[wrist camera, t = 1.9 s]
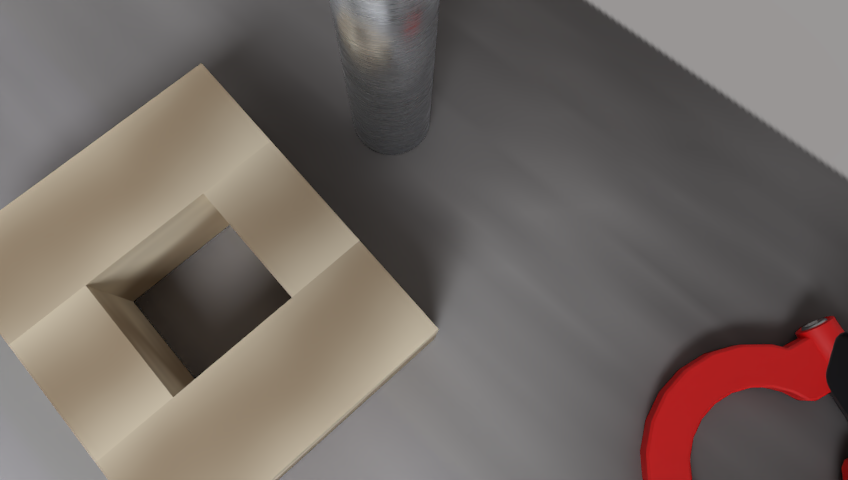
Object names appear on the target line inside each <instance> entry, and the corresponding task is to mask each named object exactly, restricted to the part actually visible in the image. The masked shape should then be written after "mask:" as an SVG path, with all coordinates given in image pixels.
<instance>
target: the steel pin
mask: <svg viewBox="0 0 848 480" xmlns="http://www.w3.org/2000/svg"><path fill="white" fill-rule="evenodd" d="M439 3H440V0H330V5H331V11H332V16H333V21H334V26H335V31H336V36H337V41H338V47H339V52H340V57H341V62H342V67H343V72H344V78H345V83H346V88H347V93H348V98H349V103H350V108H351V114H352V119H353V124H354V128H355V131H356V134H357V136H358V137H359V139H360V140H361V141H362V143H363V144H365V145H366V146H367V147H368V148H370V149H371V150H373V151H375V152H378V153H381V154H386V155H396V154H402V153H405V152H408V151H410V150H412V149H413V148H415V147H416V146H417V145H418V144H419V143H420V142H421V141H422V140H423V139H424V137H425V135H426V133H427V131H428V128H429V121H430V109H431V98H432V86H433V74H434V62H435V50H436V38H437V26H438V15H439Z"/></svg>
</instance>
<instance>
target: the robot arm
mask: <svg viewBox="0 0 848 480" xmlns="http://www.w3.org/2000/svg"><path fill="white" fill-rule="evenodd" d="M826 381H827V384H828V386H829V389H830V391H831V392H832V394H833V395H834V397H835V398H836V400H837V401H838V403H839V404H840V406H841V407H842V409H843V410H844V412H845V413H846V415H847V416H848V331H846V332H843V333H840V334H839V335H838V336H837V337H836V339H835V341H834V345H833V349H832V352H831V356H830V359H829V363H828V366H827V370H826Z"/></svg>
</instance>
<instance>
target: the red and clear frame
mask: <svg viewBox="0 0 848 480" xmlns="http://www.w3.org/2000/svg"><path fill="white" fill-rule="evenodd" d="M843 332H844V330H843V329H842V327H841V326H840V325H839V323H838V322H837V320H836V319H835V317H834V316H828V317H823V318H820V319H817V320H814V321H812V322H810V323H808V324H806V325H804V326H803V327H801V328H800V329H799V330H798V331H796V333H795V334H796V336H797V337H798V338H797V339H795V340H794V341H792V342H790V343H788V344H787V345H785V346H783V347H781V346H777V345H773V344H748V345H733V346H729V347H726V348H722V349H719V350H715V351H712V352H708V353H705V354H703V355H701V356H700V357H698V358H696V359H695V360H693V361H692V362H690V363H688V364H687V365H685V366H684V367H682V368H680V369H679V370H678V371H677V372H676V373H675V374H674V376H673V377H672V378H671V379H670V380H669V381H668V382H667V383H666V385H665V386H664V387H663V388H662V389H661V390H660V391H659V393H658V395H657V397H656V399H655V401H654V403H653V406H652V408H651V410H650V412H649V414H648V416H647V418H646V421H645V427H644V433H643V438H642V444H641V450H640V455H641V467H642V478H643V480H692V475H691V465H690V455H691V449H692V443H693V437H694V435H695V433H696V431H697V429H698V426H699V424H700V422H701V420H702V418H703V417H704V416H705V415H706V414H707V413H708V411H709V410H710V409H711V408H712V407H713V406H714V404H716V403H717V402H719V401H720V400H722V399H723V398H725V397H726V396H728V395H730V394H731V393H734V392H737V391H741V390H744V389H748V388H752V387H764V388H768V389H772V390H776V391H780V392H783V393H785V394H787V395H789V396H791V397H793V398H794V399H796V400H804V401H816V400H818V399H820V398H821V397H823V396H825V395H827V394H828V393H830V394H831V396H832V397H833V399H834V400H835V402H836V403H837V405H838V406H839V408H840V409H841V411H842V412H843V414H844V415H845V417H846V418H847V420H848V416H847V415H846V413H845V412H844V410H843V409H842V407H841V406H840V404H839V403H838V401H837V400H836V398H835V397H834V395H833V394H832V392H831V391H830V389H829V386H828V384H827V381H826V370H827V366H828V363H829V359H830V356H831V352H832V349H833V345H834V341H835V339H836V337H837V336H838V335H839V334H840V333H843ZM841 469H842V475H843V480H848V458H847V459H845V460H844V462H843V465H842V468H841Z"/></svg>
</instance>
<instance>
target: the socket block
mask: <svg viewBox="0 0 848 480" xmlns="http://www.w3.org/2000/svg"><path fill="white" fill-rule="evenodd" d="M229 225H231V227H232V228H233V229H234V230H235V231H236V233H237V234H238V235H239V236H240V237H241V238H242V240H243V241H244V242H245V243H246V244H247V245H248V247H249V248H250V249H251V250H252V251H253V253H254V254H255V255H256V256H257V257H258V258H259V260H260V261H261V262H262V263H263V264H264V265H265V267H266V268H267V269H268V270H269V271H270V272H271V274H272V275H273V276H274V277H275V278H276V280H277V281H278V282H279V283H280V284H281V285H282V287H283V288H284V289H285V290H286V291H287V292H288V294H289V295H290V296H291V297H292V298H291V299H290V300H288V301H287V302H286V303H285V304H284V305H282V306H281V307H280V308H279V309H278V310H276V311H275V312H274V313H273V314H272V315H270V316H269V317H268V318H267V319H266V320H265V321H263V322H262V323H261V324H260V325H259V326H257V327H256V328H255V329H254V330H253V331H251V332H250V333H249V334H248V335H247V336H246V337H244V338H243V339H242V340H241V341H240V342H238V343H237V344H236V345H235V346H234V347H232V348H231V349H230V350H229V351H228V352H226V353H225V354H224V355H223V356H222V357H221V358H219V359H218V360H217V361H216V362H215V363H213V364H212V365H211V366H210V367H209V368H207V369H206V370H205V371H204V372H203V373H202V374H200V375H199V376H198V377H197V378H196V379H194V378H193V376H192V375H191V374H190V373H189V371H188V370H187V369H186V368H185V366H184V365H183V364H182V362H181V361H180V360H179V359H178V357H177V356H176V355H175V354H174V352H173V351H172V350H171V349H170V347H169V346H168V345H167V344H166V342H165V341H164V340H163V339H162V337H161V336H160V335H159V334H158V332H157V331H156V330H155V329H154V327H153V326H152V325H151V323H150V322H149V321H148V320H147V318H146V317H145V316H144V315H143V313H142V312H141V311H140V310H139V308H138V307H137V306H136V305H135V303H134V302H133V301H135V300H136V299H137V298H138V297H140V296H141V295H142V294H143V293H145V292H146V291H147V290H148V289H150V288H151V287H152V286H153V285H155V284H156V283H157V282H158V281H160V280H161V279H162V278H163V277H165V276H166V275H167V274H168V273H170V272H171V271H172V270H173V269H175V268H176V267H177V266H178V265H180V264H181V263H182V262H184V261H185V260H186V259H187V258H189V257H190V256H191V255H192V254H194V253H195V252H196V251H197V250H199V249H200V248H201V247H202V246H204V245H205V244H206V243H207V242H209V241H210V240H211V239H212V238H214V237H215V236H216V235H217V234H219V233H220V232H221V231H222V230H224V229H225V228H226V227H227V226H229ZM438 330H439V329H438V328H437V327H436V326H435V325H434V323H433V322H432V321H431V320H430V319H429V318H428V317H427V316H426V314H425V313H424V312H423V311H422V310H421V309H420V308H419V307H418V305H417V304H416V303H415V302H414V301H413V300H412V299H411V298H410V296H409V295H408V294H407V293H406V292H405V291H404V290H403V289H402V288H401V286H400V285H399V284H398V283H397V282H396V281H395V280H394V279H393V277H392V276H391V275H390V274H389V273H388V272H387V271H386V270H385V268H384V267H383V266H382V265H381V264H380V263H379V262H378V261H377V259H376V258H375V257H374V256H373V255H372V254H371V253H370V252H369V250H368V249H367V248H366V247H365V246H364V245H363V244H362V243H361V242H360V240H359V239H358V238H357V237H356V236H355V235H354V234H353V233H352V231H351V230H350V229H349V228H348V227H347V226H346V225H345V224H344V222H343V221H342V220H341V219H340V218H339V217H338V216H337V215H336V213H335V212H334V211H333V210H332V209H331V208H330V207H329V206H328V205H327V203H326V202H325V201H324V200H323V199H322V198H321V197H320V196H319V194H318V193H317V192H316V191H315V190H314V189H313V188H312V187H311V185H310V184H309V183H308V182H307V181H306V180H305V179H304V178H303V176H302V175H301V174H300V173H299V172H298V171H297V170H296V169H295V167H294V166H293V165H292V164H291V163H290V162H289V161H288V160H287V159H286V157H285V156H284V155H283V154H282V153H281V152H280V151H279V150H278V148H277V147H276V146H275V145H274V144H273V143H272V142H271V141H270V139H269V138H268V137H267V136H266V135H265V134H264V133H263V132H262V130H261V129H260V128H259V127H258V126H257V125H256V124H255V123H254V122H253V120H252V119H251V118H250V117H249V116H248V115H247V114H246V113H245V111H244V110H243V109H242V108H241V107H240V106H239V105H238V104H237V102H236V101H235V100H234V99H233V98H232V97H231V96H230V95H229V93H228V92H227V91H226V90H225V89H224V88H223V87H222V86H221V85H220V83H219V82H218V81H217V80H216V79H215V78H214V77H213V76H212V74H211V73H210V72H209V71H208V70H207V69H206V68H205V67H204V65H203V64H202V63H201V64H200V65H198V66H197V67H195V68H194V69H193V70H191V71H190V72H189V73H187V74H186V75H184V76H183V77H182V78H180V79H179V80H178V81H176V82H175V83H174V84H172V85H171V86H169V87H168V88H167V89H165V90H164V91H163V92H161V93H160V94H159V95H157V96H156V97H154V98H153V99H152V100H150V101H149V102H148V103H146V104H145V105H143V106H142V107H141V108H139V109H138V110H137V111H135V112H134V113H133V114H131V115H130V116H128V117H127V118H126V119H124V120H123V121H122V122H120V123H119V124H118V125H116V126H115V127H113V128H112V129H111V130H109V131H108V132H107V133H105V134H104V135H102V136H101V137H100V138H98V139H97V140H96V141H94V142H93V143H92V144H90V145H89V146H87V147H86V148H85V149H83V150H82V151H81V152H79V153H78V154H77V155H75V156H74V157H72V158H71V159H70V160H68V161H67V162H66V163H64V164H63V165H61V166H60V167H59V168H57V169H56V170H55V171H53V172H52V173H51V174H49V175H48V176H46V177H45V178H44V179H42V180H41V181H40V182H38V183H37V184H36V185H34V186H33V187H31V188H30V189H29V190H27V191H26V192H25V193H23V194H22V195H20V196H19V197H18V198H16V199H15V200H14V201H12V202H11V203H10V204H8V205H7V206H5V207H4V208H3V209H1V210H0V334H1V336H2V337H3V338H4V340H5V341H6V342H7V344H8V345H9V347H10V348H11V349H12V351H13V352H14V353H15V355H16V356H17V357H18V359H19V360H20V361H21V363H22V364H23V365H24V367H25V368H26V369H27V371H28V372H29V374H30V375H31V376H32V378H33V379H34V380H35V382H36V383H37V384H38V386H39V387H40V388H41V390H42V391H43V392H44V394H45V395H46V396H47V398H48V399H49V401H50V402H51V403H52V405H53V406H54V407H55V409H56V410H57V411H58V413H59V414H60V415H61V417H62V418H63V419H64V421H65V422H66V423H67V425H68V426H69V427H70V429H71V430H72V432H73V433H74V434H75V436H76V437H77V438H78V440H79V441H80V442H81V444H82V445H83V446H84V448H85V449H86V450H87V452H88V453H89V454H90V456H91V457H92V459H93V460H94V461H95V463H96V464H97V465H98V467H99V468H100V469H101V471H102V472H103V473H104V475H105V476H106V477H107V479H108V480H278V479H279V478H281V477H282V476H283V475H284V474H285V473H286V472H287V471H288V470H289V469H291V468H292V467H293V466H294V465H295V464H296V463H297V462H298V461H299V460H301V459H302V458H303V457H304V456H305V455H306V454H307V453H308V452H309V451H311V450H312V449H313V448H314V447H315V446H316V445H317V444H318V443H319V442H321V441H322V440H323V439H324V438H325V437H326V436H327V435H328V434H329V433H330V432H332V431H333V430H334V429H335V428H336V427H337V426H338V425H339V424H340V423H342V422H343V421H344V420H345V419H346V418H347V417H348V416H349V415H350V414H352V413H353V412H354V411H355V410H356V409H357V408H358V407H359V406H360V405H362V404H363V403H364V402H365V401H366V400H367V399H368V398H369V397H370V396H371V395H373V394H374V393H375V392H376V391H377V390H378V389H379V388H380V387H381V386H383V385H384V384H385V383H386V382H387V381H388V380H389V379H390V378H391V377H393V376H394V375H395V374H396V373H397V372H398V371H399V370H400V369H401V368H403V367H404V366H405V365H406V364H407V363H408V362H409V361H410V360H411V359H412V358H414V357H415V356H416V355H417V354H418V353H419V352H420V351H421V350H422V349H424V348H425V347H426V346H427V345H428V344H429V343H430V342H431V341H432V340H434V338H435V336H436V334H437V332H438Z"/></svg>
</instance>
